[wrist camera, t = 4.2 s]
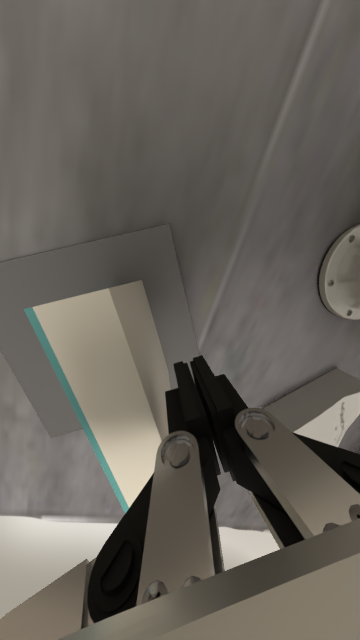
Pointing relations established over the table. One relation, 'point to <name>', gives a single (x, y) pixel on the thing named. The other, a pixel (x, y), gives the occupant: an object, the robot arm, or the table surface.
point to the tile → (111, 377)
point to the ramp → (320, 407)
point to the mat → (81, 278)
